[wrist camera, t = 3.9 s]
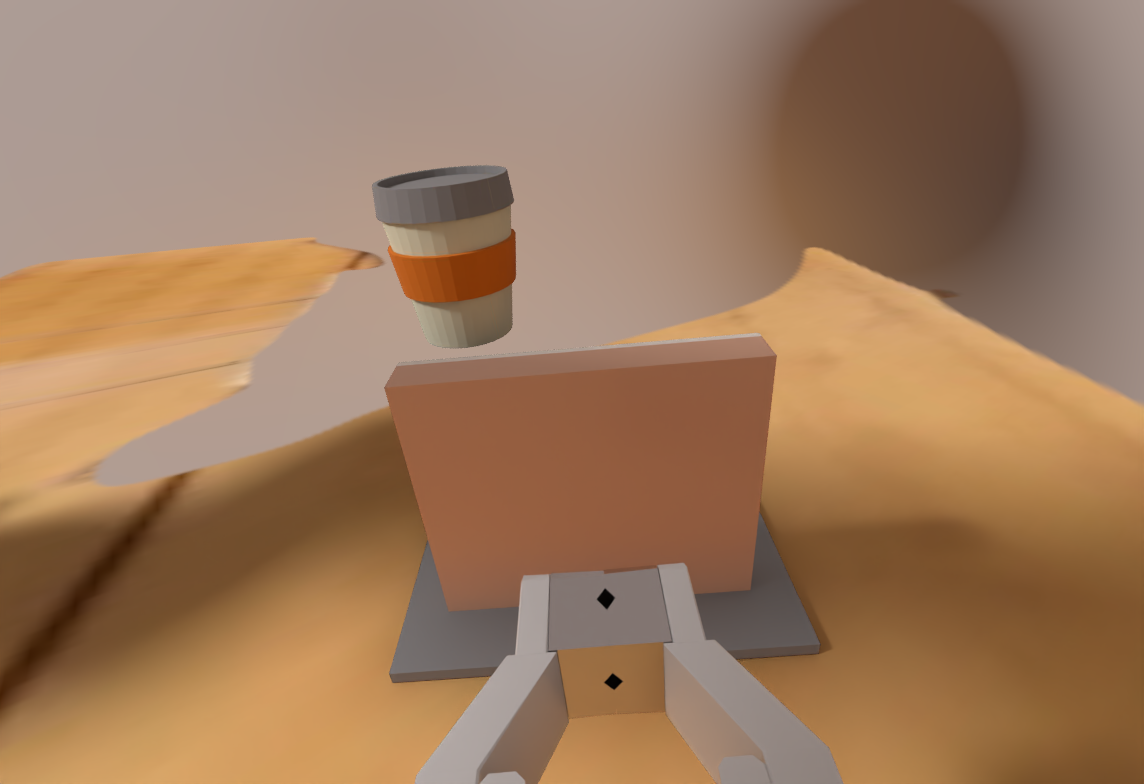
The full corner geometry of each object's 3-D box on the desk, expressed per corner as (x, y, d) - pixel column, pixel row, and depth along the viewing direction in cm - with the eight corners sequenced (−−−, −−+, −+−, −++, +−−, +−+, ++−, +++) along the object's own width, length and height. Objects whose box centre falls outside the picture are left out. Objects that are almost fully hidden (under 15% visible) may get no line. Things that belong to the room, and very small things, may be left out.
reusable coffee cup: (428, 310, 63) (396, 171, 56) (536, 304, 62) (519, 161, 55) (389, 359, 52) (344, 194, 45) (520, 353, 51) (496, 182, 44)
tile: (750, 590, 25) (776, 355, 19) (448, 611, 26) (384, 387, 20) (738, 557, 27) (758, 332, 21) (455, 577, 27) (398, 362, 22)
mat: (818, 653, 23) (820, 644, 23) (392, 682, 23) (389, 674, 23) (710, 413, 40) (711, 406, 39) (461, 433, 40) (460, 426, 40)
